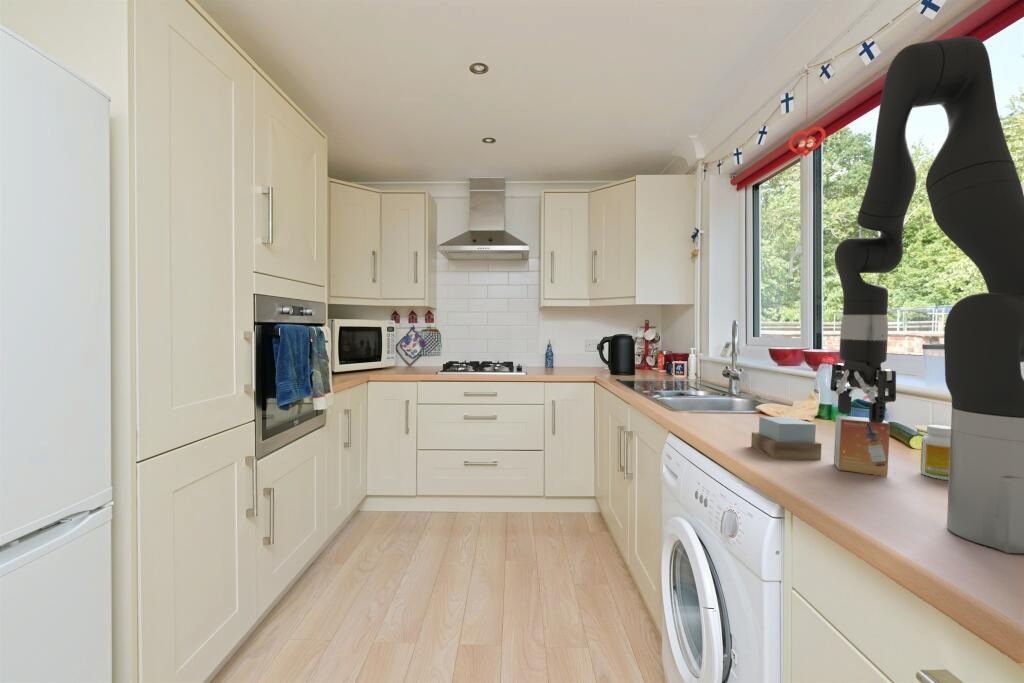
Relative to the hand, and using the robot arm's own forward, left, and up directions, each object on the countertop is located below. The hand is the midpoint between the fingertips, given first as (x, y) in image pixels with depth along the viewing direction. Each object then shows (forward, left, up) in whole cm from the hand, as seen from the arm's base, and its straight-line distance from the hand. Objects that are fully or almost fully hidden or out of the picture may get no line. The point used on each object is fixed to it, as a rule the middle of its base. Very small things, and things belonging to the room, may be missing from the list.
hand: (859, 417), depth 91 cm
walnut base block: (+12, +8, -11) cm, 18 cm away
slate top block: (+12, +8, -7) cm, 16 cm away
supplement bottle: (-3, -13, -11) cm, 17 cm away
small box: (0, 0, -11) cm, 11 cm away
